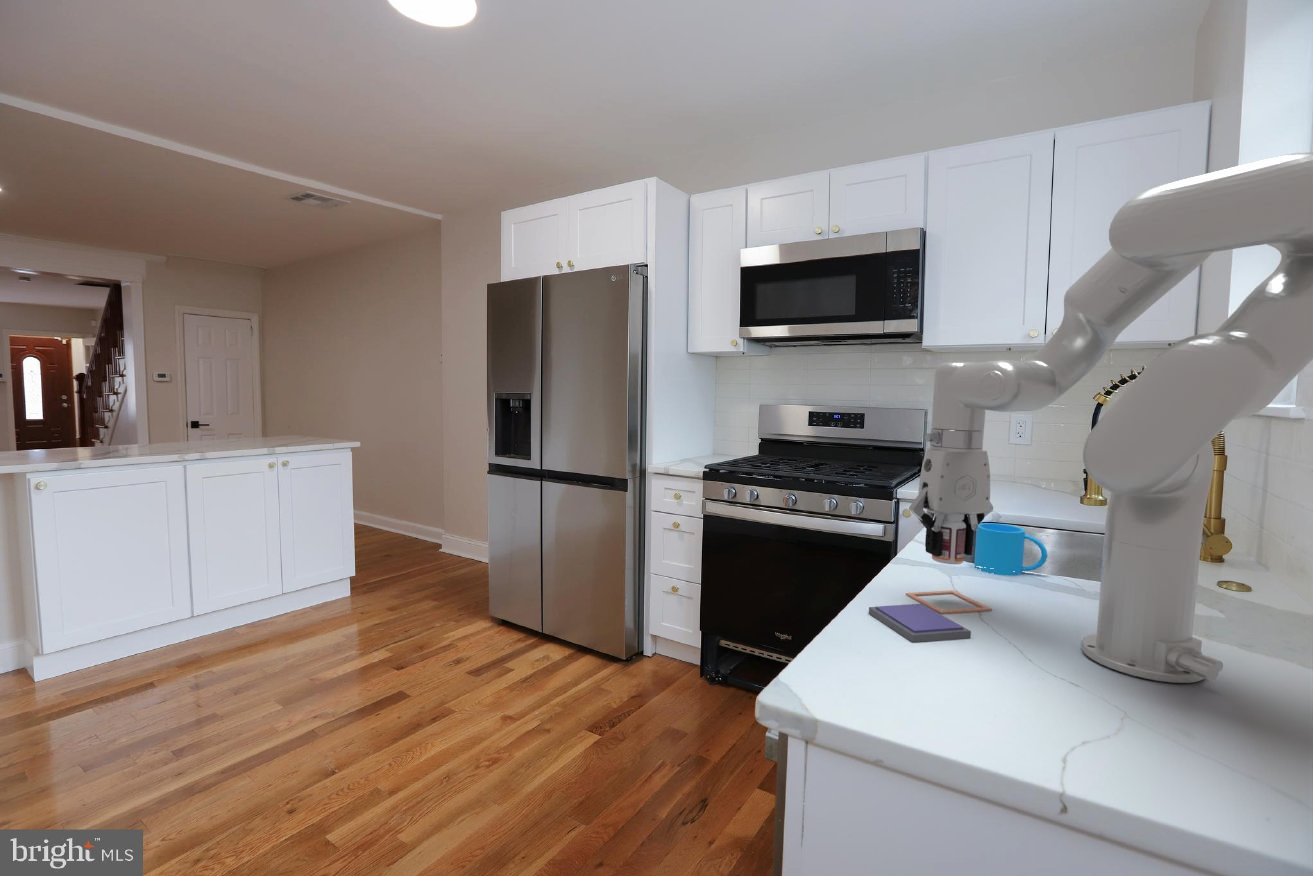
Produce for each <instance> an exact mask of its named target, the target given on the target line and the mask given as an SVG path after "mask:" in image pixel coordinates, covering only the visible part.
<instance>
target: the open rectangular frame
mask: <svg viewBox="0 0 1313 876" xmlns="http://www.w3.org/2000/svg"><path fill="white" fill-rule="evenodd" d="M941 595H953V596H955V597H958V598H959V599H961V600H964V601H966V602H968V603H970V604H973V605H974V606H976V607H969V608H967V607H966V608H965V607H964V608H953V609H941V608H939V607H937V606H936V605H933V604H932V603H930V602H928V601H926V600H924V599H923V598H920V596H941ZM905 596H907V597H909V598H910V599H913V600H914V601H916V602H918V603H919V604H923V605H924V606H926V607H928V608H930V609H932V610H934V611H935V612H937V613H939V614H941V615H944V614H945V615H947V614H959V613H961V614H963V613H974V612H975V613H977V612H978V613H979V612H990V611H992V610H993V608H991V607H989V606H987V605H985V604H983V603H981V602H979V601H976V600H974V599H972V598H970V597H968V596H966V595H964V594H962V593H960V592H957V591H956V590H951V589H950V590H939V591H938V590H935V591H921V592H920V591H919V592H918V591H917V592H905Z"/></svg>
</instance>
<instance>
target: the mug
mask: <svg viewBox="0 0 1313 876" xmlns="http://www.w3.org/2000/svg"><path fill="white" fill-rule="evenodd" d="M975 534H976V535H975V549H974V550H975V551H974V564H973V565H975V567H974V568H975V569H976V568H977V569H976V570H978V569H981V571H980V572H983V573H987V572H988V573H987V574H991V573H994V574H993V575H998V576H1006V575H1007V576H1008V577H1009V576H1010V577H1013V576H1020V575H1022V574H1023V572H1029V571H1035V570H1036V569H1039V568H1041V567H1042V566H1043V565H1044V564H1045V563H1046V561H1047V559H1048V551H1047V548H1046V547H1045V545H1044V544H1043V542H1041V540H1039V539H1038V538H1036V537H1033V536H1032V535H1029V534H1026V530H1025V529H1024V528H1022V527H1019V526H1016V525H1015V526H1014V525H1010V524H1005V523H995V522H994V523H990V522H989V523H988V522H985V523H982V522H981V523H980V524H979V525H978V529H977V530H976V533H975ZM1026 540H1028V541H1031V542H1033V543H1034V544H1035V545H1036V546H1037V547H1038V548H1039V549H1040V553H1041V557H1040V559H1039V560H1038V561H1037V562H1036V563H1035V564H1032V565H1028V566H1024V555H1025V553H1024V552H1025V541H1026ZM976 566H981V567H983V568H979V567H976ZM984 567H986V568H984ZM990 568H994V569H990ZM1013 571H1015V572H1013Z"/></svg>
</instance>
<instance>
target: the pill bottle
mask: <svg viewBox="0 0 1313 876" xmlns="http://www.w3.org/2000/svg"><path fill="white" fill-rule="evenodd" d="M962 520H964V514H945V515H944V518H943V521H942V524H941V527H940V530H939V531H941V532H943V542H942V555H941V556H934V555H932V554H931V559H932V560H933V561H935V562H937V563H940V564H944V565H945V564H947V565H961V564H963V563H964V561H965V560H964V559H965V554H964V548H965V533H966V524H965V523H964V522H963V521H962Z"/></svg>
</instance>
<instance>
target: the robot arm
mask: <svg viewBox="0 0 1313 876" xmlns="http://www.w3.org/2000/svg"><path fill="white" fill-rule="evenodd" d="M1109 224H1110V225H1109V229H1108V240H1109V243H1110V244H1109V245H1110V246H1111V248H1110V249H1109V250H1107V252H1106V253H1105V254H1104V255H1102V257H1100V259H1098V261H1096V262H1095V263H1094V264H1093V266H1091V267H1090V268H1089V269H1088V270H1087V271H1086V272H1085V273H1083V275H1081V276H1080V277H1079V278H1078V279H1077V280H1076V281H1075V282H1074V283H1073V284H1071V286H1069V288H1068V289H1067V290H1066V291H1065V294H1064V296H1063V316H1062V317H1063V318H1062V321H1061V323H1060V325H1059V327H1058V328H1057V330H1056V332H1054V333H1053V335H1052V336H1051V338H1050V339H1049V340H1047V342H1046V343H1044V344H1043V346H1041V348H1039V349H1038V350H1037V351H1036V352H1035V353H1033V354H1032V355H1031V356H1030V357H1029V358H1027V360H1016V359H1015V360H1014V359H1013V360H1012V359H999V360H990V361H983V362H982V361H981V362H973V361H972V362H971V361H970V362H969V361H948V362H943V363H940V364H938V365H937V367H936V369H935V373H934V380H933V381H934V384H933V396H932V410H931V411H932V412H931V413H932V414H931V428H930V433H926V434H925V436H924V439H925V442H928V443H929V445H930V446H929V447H928V448H926V450H925V454H924V457H923V461H922V466H921V471H920V476H919V486H918V495H917V496H916V497H915V499H914V500H913V502H912V503H911V504H910V505H909V507H908V511H909V512H910V513H911V514H912V515H914V516H915V517H916V518H917V519H918V520H919V521H920V523H921V524H922V526H923V528H925V540H924V541H925V543H924V547H925V552H926V553H927V554H930V555H931V556H932V555H934V556H941V555H942V542H943V532H941V531H939V530H940V527H941V524H942V521H943V518H944V515H945V514H964V520H962V521H963V522H964V523H965V524H966V533H965V548H964V555H966V556H972V554H973V546H974V536H975V533H974V531H976V530H977V529H978V525H979V524H982V522H983V520H984V519H985V518H986V517H987V516H988V515H989V514H990V513H992V511H994V506H993V504H992V503H991V469H990V462H989V455H988V451H987V450H985V449H983V447H984V437H985V435H984V434H985V431H984V430H985V420H986V411H991V412H1000V413H1002V412H1004V413H1005V412H1007V413H1009V412H1010V413H1012V412H1013V413H1014V412H1033V411H1039V410H1041V409H1044V408H1045V407H1048V406H1049V405H1051V404H1053V403H1054V402H1055V401H1057V400H1058V399H1060V398H1061V397H1062V396H1063V395H1064V394H1066V392H1068V391H1069V390H1070V389H1072V388H1073V387H1074V386H1075V385H1077V384H1078V383H1079V382H1080V381H1081V380H1082V379H1084V378H1085V377H1086V376H1087V375H1088V374H1089V373H1090V372H1091V371H1092V370H1093V369H1094V368H1095V367H1096V366H1097V365H1098V364H1099V362H1100V361H1101V360H1102V359H1103V357H1104V356H1105V355H1106V353H1107V352H1108V351H1109V350H1110V348H1112V346H1113V344H1115V342H1116V340H1117V338H1118V337H1119V335H1120V334H1121V333H1122V332H1123V331H1125V329H1126V328H1128V326H1130V325H1131V324H1132V323H1133V322H1135V321H1136V320H1137V319H1138V318H1139V317H1140V316H1142V315H1143V314H1144V313H1145V312H1146V311H1147V310H1148V309H1150V308H1151V307H1152V306H1153V305H1154V304H1155V303H1156V302H1158V301H1159V300H1161V298H1163V297H1164V296H1165V295H1166V294H1167V293H1168V292H1170V291H1171V290H1172V289H1173V288H1175V287H1176V286H1177V285H1178V284H1179V283H1180V282H1182V281H1183V280H1184V279H1185V278H1186V277H1188V276H1189V275H1190V274H1191V273H1192V272H1193V271H1195V270H1197V268H1198V267H1199V266H1200V265H1201V264H1203V263H1204V262H1205V261H1206V260H1207V259H1208V258H1209V257H1210V256H1211V255H1212V254H1213V253H1217V252H1223V251H1224V252H1225V251H1230V250H1236V249H1237V250H1238V249H1242V248H1249V247H1255V246H1263V245H1267V246H1269V247H1272V248H1274V249H1276V250H1277V251H1278V252H1279V253H1280V256H1281V258H1280V261H1279V264H1278V266H1277V267H1276V268H1275V269H1274V271H1273V272H1272V273H1271V274H1270V275H1269V276H1268V277H1267V278H1266V279H1264V280H1263V281H1262V282H1261V283H1260V284H1258V285H1257V286H1256V287H1255V288H1254V289H1253V290H1252V291H1251V292H1250V293H1249V294H1248V295H1247V296H1246V298H1244V299H1243V301H1242V302H1241V303H1240V305H1239V306H1238V307H1237V308H1236V309H1235V311H1233V312H1232V314H1231V315H1229V317H1228V318H1227V319H1226V320H1225V321H1224V322H1223V323H1222V324H1220V326H1219V327H1218V328H1217V329H1215V331H1214V332H1207V333H1200V334H1195V335H1191V336H1188V337H1185V338H1182V339H1180V340H1178V341H1177V342H1175V343H1172V344H1171V345H1170V346H1168V347H1167V348H1165V349H1164V350H1163V351H1161V352H1160V353H1159V354H1158V355H1157V356H1155V358H1154V359H1152V360H1151V361H1150V363H1148V364H1147V366H1146V367H1145V368H1144V369H1143V370H1142V371H1141V372H1140V373H1139V375H1138V376H1137V377H1136V378H1135V379H1134V381H1133V382H1132V383H1130V385H1128V387H1127V388H1126V389H1125V391H1124V392H1123V393H1122V394H1121V395H1120V396H1119V397H1118V398H1117V400H1116V401H1115V402H1114V403H1113V404H1112V405H1111V406H1110V408H1109V409H1108V410H1107V411H1106V412H1105V413H1104V414H1103V415H1102V417H1101V418H1100V419H1099V420H1098V422H1096V424H1095V425H1094V426H1093V428H1092V429H1091V430H1090V432H1089V434H1088V435H1087V437H1086V440H1085V442H1084V445H1083V448H1082V449H1083V450H1082V460H1083V466H1084V468H1085V470H1086V473H1087V474H1088V476H1089V477H1090V479H1091V480H1092V481H1093V482H1094V483H1095V484H1097V485H1098V487H1101V488H1102V489H1104V490H1106V491H1108V492H1110V496H1109V500H1108V505H1107V509H1106V515H1105V516H1106V518H1105V526H1104V537H1103V551H1102V561H1101V562H1102V563H1101V573H1100V574H1101V575H1100V576H1101V577H1100V589H1099V599H1098V600H1099V602H1098V613H1097V625H1096V626H1097V627H1096V633H1094V634H1089V635H1087V636H1085V637H1083V638H1082V640H1081V648H1080V649H1081V650H1082V652H1083V653H1084V654H1085V655H1086V656H1087V657H1088V658H1090V659H1091V660H1092V661H1095V662H1096V663H1098V664H1100V665H1102V666H1104V667H1106V668H1109V669H1112V670H1114V671H1118V672H1120V673H1123V674H1127V675H1130V676H1133V677H1136V678H1137V677H1139V678H1141V679H1147V680H1151V681H1157V682H1163V683H1174V684H1175V683H1176V684H1191V683H1197V682H1200V681H1203V680H1206V681H1210V682H1214V681H1215V680H1216V679H1217V678H1218V677H1219V674H1220V672H1221V671H1222V670H1223V668H1224V663H1223V661H1221V660H1218V659H1217V658H1214V657H1211V656H1207V655H1204V654H1203V652H1202V647H1203V646H1202V645H1203V640H1200V639H1198V638H1195V637H1194V635H1193V634H1194V626H1195V625H1194V624H1195V614H1196V603H1197V602H1196V601H1197V591H1198V581H1199V579H1198V578H1199V569H1200V557H1201V549H1202V541H1203V532H1204V530H1203V528H1204V522H1205V513H1206V508H1207V507H1206V506H1207V503H1208V502H1207V501H1208V497H1209V492H1210V489H1211V484H1212V480H1213V475H1214V474H1213V473H1214V466H1215V452H1214V447H1213V443H1212V441H1213V440H1214V439H1215V438H1216V437H1217V436H1218V435H1219V434H1220V433H1221V432H1222V431H1223V430H1224V429H1225V428H1226V427H1227V426H1228V425H1229V424H1230V423H1231V422H1232V421H1235V420H1238V419H1239V420H1240V419H1243V418H1247V417H1250V416H1252V415H1254V414H1257V413H1260V412H1261V411H1262V410H1264V408H1267V406H1269V405H1270V404H1271V403H1272V402H1273V401H1274V400H1275V399H1276V398H1277V397H1278V396H1279V394H1280V393H1281V392H1283V390H1284V389H1285V388H1286V386H1288V384H1289V383H1290V382H1292V380H1293V379H1294V378H1296V376H1298V374H1299V373H1300V372H1301V371H1303V370H1304V369H1305V368H1306V367H1307V365H1308V364H1310V363H1311V362H1312V361H1313V151H1312V152H1295V153H1291V154H1284V155H1279V156H1274V157H1269V158H1265V159H1261V160H1256V161H1253V162H1249V163H1245V164H1241V165H1237V166H1233V167H1229V168H1225V169H1220V170H1216V171H1213V172H1209V173H1204V174H1200V175H1196V176H1192V177H1188V178H1184V179H1179V180H1176V181H1172V182H1169V183H1164V184H1161V185H1157V186H1154V187H1152V188H1150V189H1146V190H1145V191H1142V192H1140V193H1138V194H1137V195H1135V196H1133V197H1132V198H1130V199H1129V200H1128V201H1126V202H1125V203H1124V204H1123V205H1122V206H1121V207H1120V208H1119V209H1118V210H1117V212H1116V213H1115V214H1114V216H1113V218H1112V220H1111V222H1110V223H1109ZM924 509H925V510H926V512H925V510H924Z"/></svg>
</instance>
